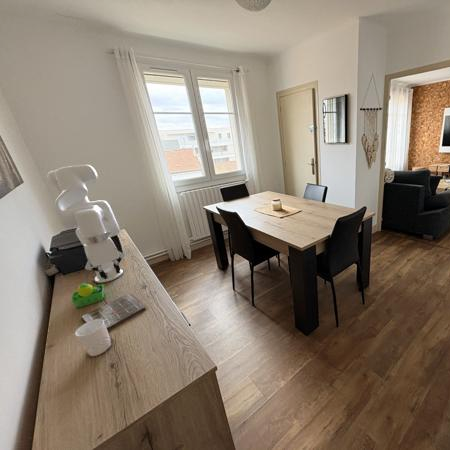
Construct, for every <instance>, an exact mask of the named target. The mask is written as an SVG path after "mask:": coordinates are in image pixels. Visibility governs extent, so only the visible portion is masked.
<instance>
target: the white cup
mask: <svg viewBox="0 0 450 450" xmlns="http://www.w3.org/2000/svg"><path fill="white" fill-rule="evenodd" d="M74 335H75V337H76V338H77V340H78V342H79V343H80V345H81V346H82V348H83V350H85V352H86V354H88V355H89V356H91V357H96V356H99V355H101V354H103V353H105V352H106V351H107V350H109V349H110V347H111V345H112V340H111V338H110V334H109V330H108V331H107V328H106V326H105V323H104V321H103V320H102V319H96V320H92V321H89V322H87V323H86V322H84V323H83V324H82V325H80V326H79V327H78V328H77V329H76V330H75V332H74Z"/></svg>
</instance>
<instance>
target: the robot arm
mask: <svg viewBox="0 0 450 450" xmlns="http://www.w3.org/2000/svg"><path fill="white" fill-rule="evenodd" d="M98 177H99V176H98V173H97V171H96V169H95V168H94V167H93V166H92V165H90V164H78V165H77V164H76V165H69V166H62V167H59V168H57V169H55V170H50V171H49V172H48V173H47V180H48V181H49V183H50V185H51V187H53V188H54V189H55V190H56V192H58V194H59V195H58V196H57V198H56V199H55V200H54V205H53V210H54V212H55V215H56V217H57V220H58V222H59V224H60V225H61V226H62V227H64V228H65V229H72V228H76V227H77V228H76V229H75V235H76V237H77V238H78V240H79V241H80V243H81V244H82V246H83V249H84V253H85V255H86V259H87V262H86V264H85V267H84V269H85V270H87V271H94V273H95V275H96V276H95V277H94V281H95V283H97V284H101V283H102V284H103V283H108V282H111V281H114V280H115V279H117V278H120V277H121V276H122V274H123V273H124V271H123V269H122V268H121V267H120V263H121V261H122V259H123V258H124V257H125V253H123V252H121V251H119V250H118V248H117V246H116V245H115V243H114V241H113V240H112V237H114V236H117V235H119V234H121V233H120V232H121V227H120V225H119V223H118V221H117V219H116V216H115V214H114V211H113V209H112V208H111V207H112V206H110V204H109V203H108V201H106V200H103V199H100V200H99V199H98V200H94V201H90V200H89V198H88V195H89V190H88V188H87V186H86V185H87V184H93V183H96V182H97V181H98V180H99V179H98ZM112 267H115V268H116V270H117V273H118V275H116V276H115V277H112V278H107V277H106V275H105V272H104V270H106V269H108V268H112Z"/></svg>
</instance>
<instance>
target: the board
mask: <svg viewBox="0 0 450 450" xmlns="http://www.w3.org/2000/svg"><path fill="white" fill-rule="evenodd" d="M145 310H146V307H145V306H144V305H143V304H142V303H140V302H139V301H138V300H137V299H136V298H134V297H133V295H131V294H129V293H127V294H125V295H123V296H120V297H119V298H117V299H115V300H112V301H111V302H108V303H106V304H105V305H102V306H99V307H98V308H96V309H94V310H91V311H90V312H88V313H86V314H84V315H82V316H81V318H82V320H83V322H84V323H87V322H89V321H92V320H96V319H102V320H103V321H104V323H105V326H106V328H107V331H108V332H109V331H110V330H111V329H114V328H115V327H117V326H118V325H120V324H122V323H124V322H126V321H127V320H129V319H131V318H134V316H136V315H138V314H140V313H143V311H145Z"/></svg>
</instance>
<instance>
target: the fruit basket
mask: <svg viewBox="0 0 450 450" xmlns="http://www.w3.org/2000/svg"><path fill="white" fill-rule="evenodd" d="M104 293H105V292H104V284H99V285H95V286H93V285H92V284H89V283H88V284H87V283H81V284H79V285H78V287H77V291H76V292H73V293H72V296H71V299H70V301H71V302H72V303H73V304H74V305H75V306H76V307H77V308H82V307H84V306H88V305H91V304H95V303H98V302H100V301H103V300H104Z"/></svg>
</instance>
